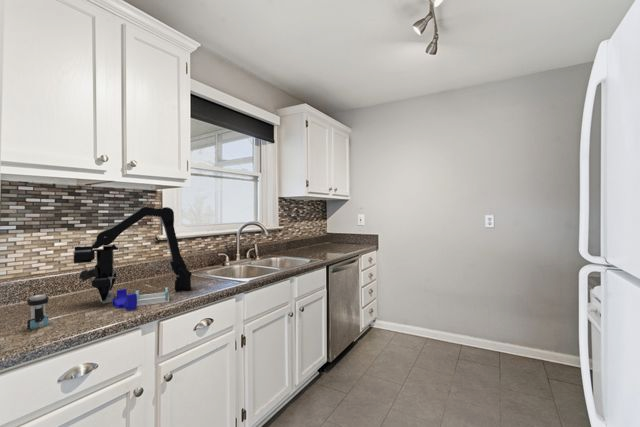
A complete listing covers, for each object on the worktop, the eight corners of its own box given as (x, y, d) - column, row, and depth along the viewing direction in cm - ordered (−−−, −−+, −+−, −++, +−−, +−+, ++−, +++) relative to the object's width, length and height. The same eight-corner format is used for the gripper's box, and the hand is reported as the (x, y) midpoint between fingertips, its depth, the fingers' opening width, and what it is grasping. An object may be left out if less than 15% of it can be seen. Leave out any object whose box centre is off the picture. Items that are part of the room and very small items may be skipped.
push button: (47, 321, 106) (47, 292, 106) (57, 323, 104) (57, 293, 104) (23, 328, 100) (23, 297, 100) (33, 330, 98) (32, 299, 98)
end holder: (169, 296, 136) (169, 286, 136) (169, 302, 127) (169, 292, 127) (135, 299, 131) (135, 290, 131) (132, 306, 122) (132, 296, 122)
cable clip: (112, 306, 123) (112, 291, 123) (125, 303, 127) (125, 288, 127) (123, 312, 116) (123, 296, 115) (136, 309, 119) (136, 293, 119)
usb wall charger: (101, 303, 126) (101, 293, 126) (98, 300, 131) (98, 290, 130) (113, 301, 128) (113, 292, 128) (109, 298, 133) (109, 289, 133)
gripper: (86, 259, 134) (87, 295, 134) (75, 266, 117) (75, 307, 117) (117, 257, 139) (117, 292, 139) (110, 264, 122) (110, 303, 122)
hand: (105, 298), depth 129 cm, fingers closed on usb wall charger, 7 cm apart
